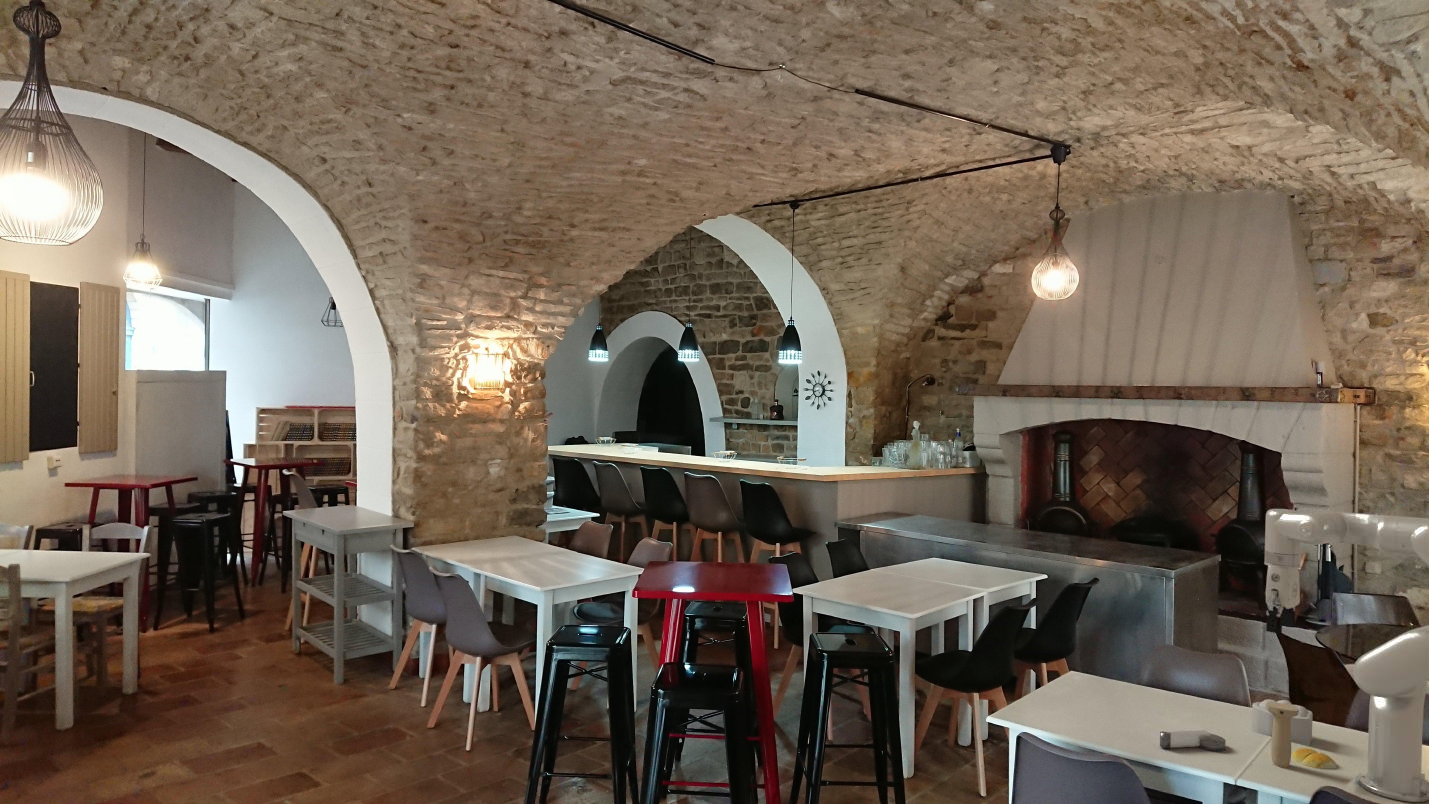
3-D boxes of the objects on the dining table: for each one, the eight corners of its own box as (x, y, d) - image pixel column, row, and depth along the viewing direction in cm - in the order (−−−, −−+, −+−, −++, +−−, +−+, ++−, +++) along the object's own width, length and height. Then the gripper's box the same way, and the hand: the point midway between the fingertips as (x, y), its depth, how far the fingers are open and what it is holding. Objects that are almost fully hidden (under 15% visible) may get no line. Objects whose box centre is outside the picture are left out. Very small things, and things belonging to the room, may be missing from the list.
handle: (1296, 777, 205) (1298, 712, 205) (1263, 770, 209) (1265, 706, 209) (1297, 770, 209) (1299, 706, 209) (1265, 763, 213) (1266, 700, 212)
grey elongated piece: (1211, 739, 223) (1211, 725, 223) (1232, 750, 217) (1232, 736, 217) (1151, 742, 221) (1151, 728, 221) (1170, 753, 214) (1170, 738, 214)
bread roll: (1309, 758, 217) (1309, 742, 217) (1343, 774, 208) (1343, 756, 208) (1281, 761, 215) (1281, 744, 215) (1314, 776, 206) (1315, 759, 206)
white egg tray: (1308, 749, 223) (1309, 714, 223) (1248, 736, 231) (1249, 702, 231) (1313, 738, 231) (1314, 704, 231) (1254, 725, 239) (1255, 692, 239)
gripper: (1288, 565, 211) (1286, 638, 211) (1311, 558, 223) (1309, 627, 223) (1253, 560, 217) (1251, 631, 217) (1276, 554, 228) (1275, 621, 228)
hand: (1280, 629), depth 220 cm, fingers open, 9 cm apart
